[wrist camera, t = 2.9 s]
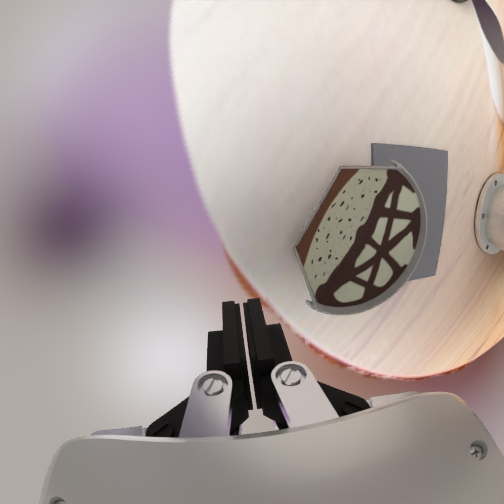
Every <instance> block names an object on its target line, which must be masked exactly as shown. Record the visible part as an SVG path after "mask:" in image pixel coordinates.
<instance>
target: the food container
mask: <svg viewBox="0 0 504 504" xmlns="http://www.w3.org/2000/svg"><path fill="white" fill-rule="evenodd" d="M390 161H391V162H392V163H393V164H394V165H395V166H340V168H339V169H338V171H337V173H336V175H335V177H334V178H333V180H332V182H331V184H330V186H329V187H328V189H327V191H326V193H325V194H324V196H323V198H322V200H321V201H320V203H319V205H318V207H317V208H316V210H315V212H314V213H313V215H312V217H311V219H310V220H309V222H308V224H307V226H306V227H305V229H304V231H303V232H302V234H301V236H300V237H299V239H298V241H297V242H296V244H295V246H294V251H295V254H296V256H297V259H298V262H299V265H300V267H301V270H302V273H303V275H304V278H305V281H306V284H307V287H308V289H309V292H310V295H311V298H312V301H313V302H312V301H309V300H306V303H307V304H308V305H309V306H310V307H311V308H312V309H315V310H317V311H319V312H322V313H325V314H331V315H351V314H357V313H361V312H364V311H367V310H370V309H372V308H374V307H376V306H378V305H380V304H382V303H383V302H385V301H386V300H388V299H389V298H391V297H392V296H393V295H394V294H395V293H396V292H398V291H399V290H400V288H401V287H402V286H403V285H404V284H405V283H406V282H407V280H408V279H409V278H410V276H411V275H412V273H413V272H414V270H415V268H416V266H417V264H418V262H419V260H420V258H421V255H422V253H423V249H424V245H425V241H426V234H427V213H426V206H425V203H424V199H423V196H422V193H421V191H420V189H419V187H418V185H417V183H416V182H415V180H414V179H413V177H412V176H411V175H410V174H409V172H408V171H407V170H406V169H405V168H404V167H403V166H402V165H401V164H400V163H398V162H396V161H394V160H393V159H391V160H390Z"/></svg>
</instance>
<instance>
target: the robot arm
mask: <svg viewBox="0 0 504 504" xmlns="http://www.w3.org/2000/svg"><path fill="white" fill-rule="evenodd" d="M475 232H476V238H477V242H478V245H479V246H480V248H481V249H482V250H483V251H484V252H486V253H488V254H491V255H492V254H496V253H498V252H499V251H501V250H503V251H504V174H503V173H495V174H494V175H492V176H491V177H490V178H489V179H488V180H487V182H486V183H485V185H484V187H483V189H482V192H481V194H480V197H479V201H478V205H477V210H476V218H475ZM243 307H244V316H245V324H246V333H247V342H248V350H249V357H250V364H251V371H252V377H253V384H254V391H255V397H256V404H257V409H260V408H262V410H263V415H265V416H266V417H268V418H270V419H272V420H273V422H274V426H275V428H276V431H269V432H262V433H254V434H245V435H241V431H242V427H241V424H242V423H243V422H244V421H245V420H246V419H247V418H248V417H249V414H248V410H253V405H252V398H251V391H250V384H249V376H248V369H247V361H246V353H245V346H244V338H243V330H242V322H241V314H240V306H239V303H238V304H235V303H234V301H228V302H222V311H223V312H222V314H223V330H222V331H211V332H208V347H207V372H204V373H202V374H201V375H199V376H198V377H197V378H196V379H195V381H194V383H193V386H192V389H191V393H190V396H189V397H188V398H186V399H185V400H184V401H182V402H181V403H180V404H178V405H177V406H176V407H174V408H173V409H171V410H170V411H169V412H167V413H166V414H164V415H163V416H161V417H160V418H159V419H157V420H156V421H154V422H153V423H152V424H151V425H150V426H149V427H148V428H142V426H139V427H130V428H121V429H111V430H100V431H96V432H94V433H93V434H91V435H89V436H83V437H78V438H74V439H71V440H69V441H66V442H65V443H63V444H62V445H61V446H60V447H59V448H58V450H57V451H56V453H55V455H54V457H53V459H52V461H51V463H50V465H49V468H48V471H47V474H46V477H45V481H44V484H43V488H42V492H41V496H40V501H39V504H504V456H503V454H502V453H501V451H500V449H499V448H498V446H497V444H496V443H495V441H494V439H493V438H492V436H491V434H490V433H489V431H488V430H487V429H486V427H485V426H484V424H483V423H482V421H481V420H480V419H479V418H478V416H477V415H476V413H474V411H473V410H472V409H471V408H470V407H469V405H468V404H466V402H464V401H463V400H462V399H461V398H460V397H458V396H457V395H454V394H452V393H447V392H430V393H420V392H417V391H412V392H406V393H399V394H393V395H386V396H378V397H371V399H370V400H364V399H363V398H361V397H358V396H356V395H353V394H350V393H347V392H345V391H342V390H339V389H336V388H334V387H331V386H329V385H326V384H323V383H321V382H318V381H316V379H315V378H314V376H313V374H312V373H311V371H310V370H309V368H308V367H307V366H306V365H304V364H302V363H300V362H296V361H292V358H291V355H290V352H289V348H288V345H287V342H286V339H285V336H284V333H283V330H282V327H281V324H280V323H279V324H272V325H266V323H265V319H264V315H263V311H262V307H261V303H260V299H259V298H254V299H248V300H247V303H243Z"/></svg>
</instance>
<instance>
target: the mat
mask: <svg viewBox="0 0 504 504" xmlns="http://www.w3.org/2000/svg"><path fill="white" fill-rule="evenodd" d="M371 147H372V166H395V165H394V164H393V163H392V162H391V161H390V160H391V159H393V160H394V161H396V162H398V163H400V164H401V165H402V166H403V167H404V168H405V169H406V170H407V171H408V172H409V174H410V175H411V176H412V177H413V179H414V180H415V182H416V183H417V185H418V187H419V189H420V191H421V193H422V196H423V199H424V203H425V206H426V213H427V234H426V241H425V245H424V249H423V253H422V255H421V258H420V260H419V262H418V264H417V266H416V268H415V270H414V272H413V273H412V275H411V276H410V278H409V279H408V280H407V281H410V280H415V279H420V278H424V277H429V276H434V275H435V273H436V269H437V263H438V258H439V252H440V246H441V240H442V233H443V225H444V216H445V206H446V193H447V169H448V151H444V150H437V149H429V148H421V147H412V146H402V145H391V144H377V143H371Z"/></svg>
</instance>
